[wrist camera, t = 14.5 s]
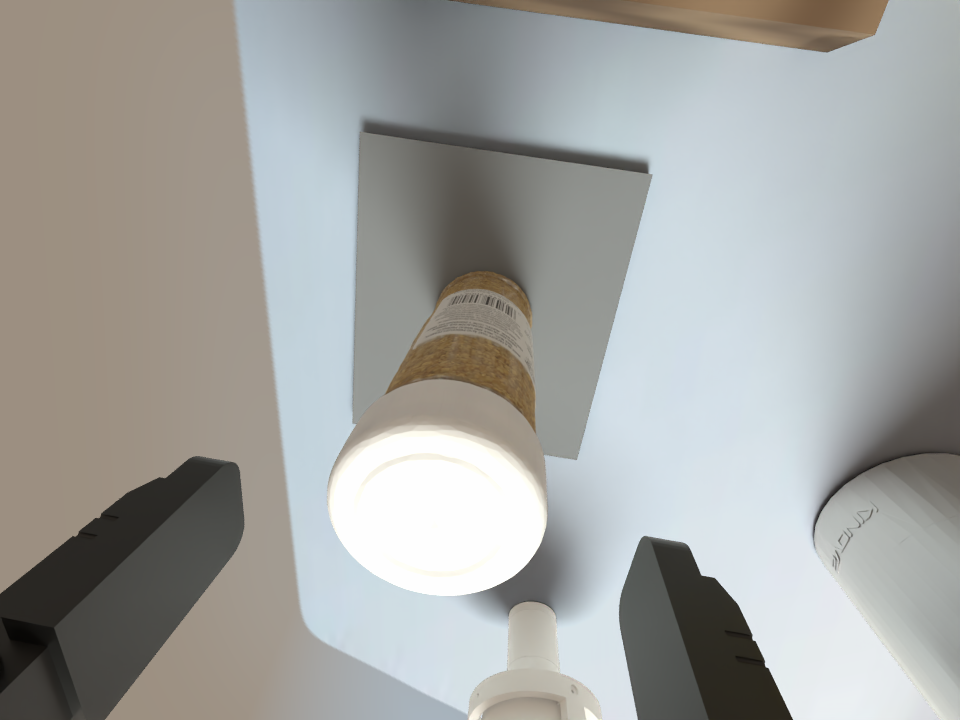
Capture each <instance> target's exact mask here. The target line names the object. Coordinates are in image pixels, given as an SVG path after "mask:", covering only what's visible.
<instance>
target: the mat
mask: <svg viewBox="0 0 960 720" xmlns="http://www.w3.org/2000/svg"><path fill="white" fill-rule="evenodd" d="M652 175H653V174H646V173H639V172H632V171H625V170H618V169H611V168H605V167H598V166H591V165H584V164H577V163H570V162H564V161H557V160H550V159H543V158H536V157H529V156H522V155H516V154H509V153H502V152H495V151H488V150H481V149H475V148H468V147H461V146H454V145H447V144H440V143H433V142H427V141H420V140H413V139H406V138H399V137H392V136H386V135H379V134H372V133H365V132H360V146H359V185H358V225H357V264H356V304H355V344H354V383H353V424H357V423H358V421H359V420H360V418H361V417H362V415H363V414H364V413H365V412H366V411H367V409H368V408H369V407H370V406H371V405H372V404H373V403H374V402H375V401H377V400H378V399H379V398H380V397H382V396H383V395H385V393H386V391H387V389H388V387H389V385H390V383H391V381H392V379H393V378H394V376H395V374H396V373H397V372H398V369H399V367H400V365H401V363H402V362H403V360H404V359H405V357H406V355H407V353H408V352H409V348H410V346H411V344H412V342H413V341H414V339H415V338H416V336H417V334H418V332H419V331H420V329H421V328H422V326H423V325H424V323H425V322H426V320H427V319H428V318H429V317H430V316H431V315H432V313H433V311H434V310H435V308H436V303H437V301H438V299H439V297H440V295H441V293H442V291H443V290H444V289H445V287H447V286H448V285H449V284H450V283H451V282H452V281H454V280H455V279H456V278H457V277H461V276H463V275H465V274H468V273H470V272H476V271H490V272H494V273H496V274H500V275H503V276H505V277H506V278H508V279H511V280H512V281H514V282H515V283H516V284H517V285H518V286H519V287H520V288H521V290H522V291H523V292H524V293H525V295H526V297H527V299H528V301H529V304H530V308H531V311H532V328H531V333H532V341H533V354H534V373H535V388H536V408H535V425H536V435H537V437H538V439H539V442H540V445H541V447H542V450H543V454H544V455H549V456H555V457H562V458H568V459H574V460H577V457H578V454H579V450H580V446H581V442H582V438H583V435H584V431H585V427H586V423H587V420H588V416H589V412H590V408H591V405H592V401H593V397H594V393H595V390H596V386H597V382H598V378H599V374H600V371H601V367H602V363H603V359H604V356H605V352H606V348H607V344H608V341H609V337H610V333H611V329H612V325H613V322H614V318H615V314H616V310H617V307H618V303H619V299H620V295H621V292H622V288H623V284H624V280H625V276H626V273H627V269H628V265H629V261H630V258H631V254H632V250H633V246H634V243H635V239H636V235H637V231H638V228H639V224H640V220H641V216H642V212H643V209H644V205H645V201H646V197H647V194H648V190H649V186H650V182H651V179H652Z"/></svg>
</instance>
